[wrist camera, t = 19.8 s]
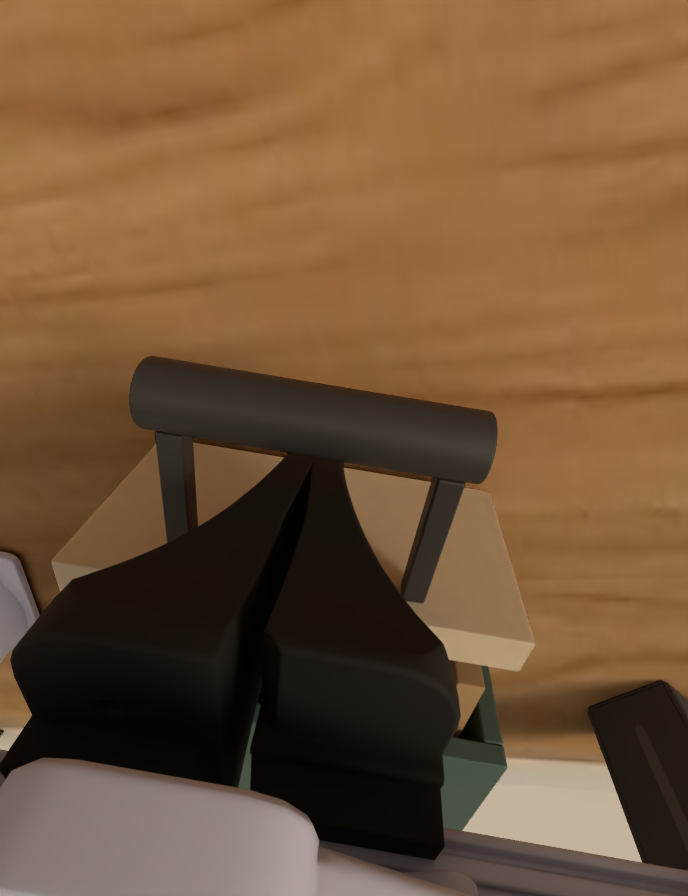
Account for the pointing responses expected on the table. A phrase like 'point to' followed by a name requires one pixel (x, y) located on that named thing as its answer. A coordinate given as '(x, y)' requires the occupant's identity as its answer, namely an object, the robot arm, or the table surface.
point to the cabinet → (455, 761)
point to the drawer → (372, 494)
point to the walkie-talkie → (649, 767)
